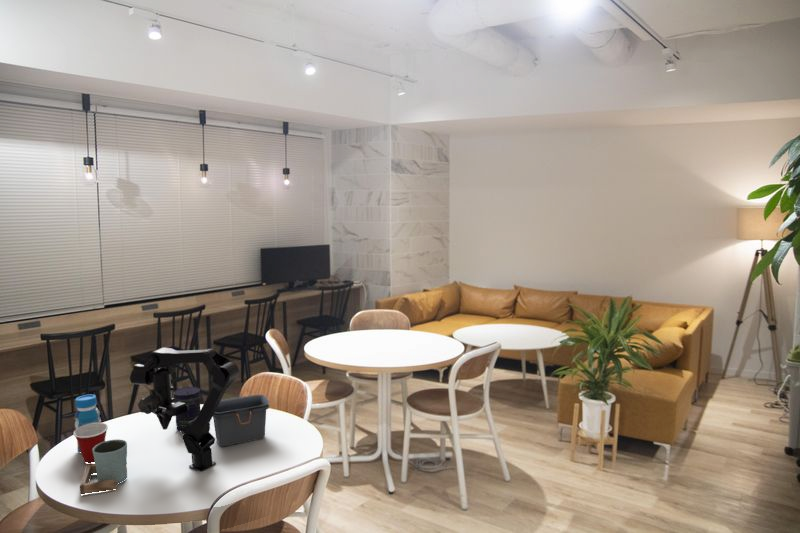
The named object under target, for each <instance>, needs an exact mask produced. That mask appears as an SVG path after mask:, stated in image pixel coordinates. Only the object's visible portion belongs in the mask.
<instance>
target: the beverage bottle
mask: <svg viewBox="0 0 800 533" xmlns="http://www.w3.org/2000/svg"><path fill="white" fill-rule="evenodd" d="M74 401H75V408H76V411H75V414H74V420H75V422H74V427H75V430H76V429H77V428H79V427H81V426H83V425H86V424H90V423H102V419H101V417H100V415H101V411H100V409H98V407H97V396H96V394H83V395H81V396H77V397H76V398H75V400H74ZM76 441H77V440H76ZM76 443H77V452H78V453H79V452H81V451H80V447H79V444H78V441H77V442H76Z"/></svg>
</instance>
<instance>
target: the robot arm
mask: <svg viewBox="0 0 800 533" xmlns="http://www.w3.org/2000/svg"><path fill="white" fill-rule="evenodd" d="M175 364H178V365H179V364H203V365H204V366H205V368H206V370H207V372H208V374H209V375H210V376H212V378H211V384H212V385H211V387H210V391H209V393H208V395H207V396H206V398H205V401H204V403H203V405H202V407H201V408H200V413H199V415H198V417H197V418H195V419H194V420H192V421H191V422H189V423H188V424H187V425H186V428H185V430H184V432H181V433H182V441H183V443H184V445H185V448H186V451H187V453H188V454H191V464H190V465H188V468H191V469H193V470H195V471H200V472H203V471H205V470H207V469H209V468H210V467H212V466H215V465H216V464H217V462H216V461H214V460H213V456H212V455H213V454H212V453H213V451H212V448H211V447H212V445H214V444H215V443H216V437H214V436H213V435H212V434H211V432H210V430H211V429H210V428H211V426H210V422H211V420H212V418H213V415H214V413H215V411H216V409H217V407H218V405H219V403H220V401H221V400H223V396H224V394H225V393H226V390H227V389H228V388H229V387H230V386H231V385H232V384H233V383H234V382H235V380H236V379H237V377H238V376H239V375H240V368H239V366H238V365H237V364H236V363H235V362H233V361H231V359H229V358H228V357H227V356H225V355H222V354H220V353H218V351H217V350H216V349H214V348H208V349H192V350H191V349H190V350H189V349H188V350H176V349H174V348H170V347H160V348H158V349H156V350H153V351H151V352H149V354H148V355H147V360H146V362H145V364H141V363H136V364H134V365H133V369H132V370H131V373H130V376H129V379H130V383H132V385H142V386H150V385H151V384H152V389H150V390H149V395H148V396H145V397H143V398H140V400H139V402H138V403H137V407H138V410H140V411H139V412H141V413H143V414H146V415H150V414H151V413H153V414H155V415H156V417H157V419H158V421H159V423H160V425H161V428H162V430H167V429H168V428H169V425H170V422H171V420H172V419H173V417H176V416H177V415H179V414H182V413H184V412H187V411H188V405H187V404H186V403H182V402H177V403H175V402H174V401H175V398H174V397H173V396H172V391H175V387H174V386H172V383H171V374H173V373H175V372H176V369H175V368H174V367H172V365H175ZM217 365H218V366H219V367H218V366H217Z"/></svg>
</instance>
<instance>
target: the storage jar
mask: <svg viewBox="0 0 800 533" xmlns="http://www.w3.org/2000/svg"><path fill="white" fill-rule="evenodd" d="M173 391H174V392H173V396H174V397H173V398H175V401H174V402H173V403H177V402H182V403H186V404H187V405H188V411H187V412H184V413H182V414H179V415H177V416H175V426H176V431H177V432H180V433H183V432H184V430H185V428H186V425H187V424H188V423H189V422H191V421H192V420H194V419H195V418H197V417H198V415H199V413H200V411H201V402H202V401H201V390H200V388H199V387H197V386H186V387H181V388H178V389H176V390H173Z"/></svg>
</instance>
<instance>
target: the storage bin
mask: <svg viewBox="0 0 800 533" xmlns="http://www.w3.org/2000/svg"><path fill="white" fill-rule="evenodd" d="M270 403H271V401H270V400H269V399H268V398H267V397H266V396H265V395H263V394H253V395H247V396H241V397H233V398H227V399H221V401H220V403H219V405H218V407H217V409H216V411H215V413H214V415H213V417H212V418H213V426H214V432H215V440H217V443H218V444H219V446H220V447H227V446H231V445H236V444H243V443H247V442H251V441H252V442H253V441H257V439H258V440H261V439H262V440H263V439H264V438H265V436H266V420H267V410H268V409H269V408H270Z"/></svg>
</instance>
